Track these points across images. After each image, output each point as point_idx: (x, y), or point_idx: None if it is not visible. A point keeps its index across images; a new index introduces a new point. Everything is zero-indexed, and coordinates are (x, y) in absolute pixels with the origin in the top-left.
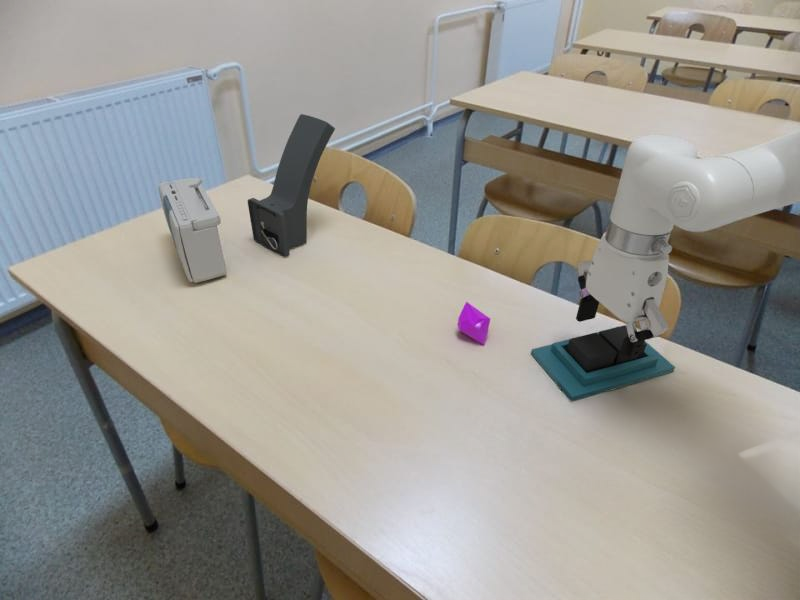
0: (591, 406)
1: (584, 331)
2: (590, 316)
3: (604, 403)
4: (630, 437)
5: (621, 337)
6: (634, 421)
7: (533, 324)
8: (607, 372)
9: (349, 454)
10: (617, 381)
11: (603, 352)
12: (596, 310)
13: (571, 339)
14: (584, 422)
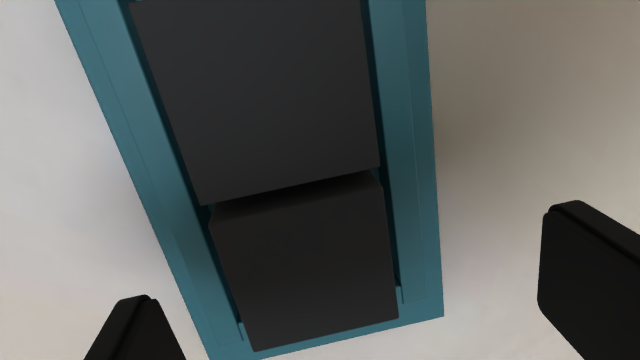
0: (468, 255)
1: (61, 125)
2: (163, 345)
3: (471, 215)
4: (602, 198)
5: (267, 104)
6: (563, 158)
7: (35, 311)
8: (418, 214)
9: None
10: (425, 155)
11: (371, 250)
12: (132, 353)
13: (259, 348)
14: (511, 291)
